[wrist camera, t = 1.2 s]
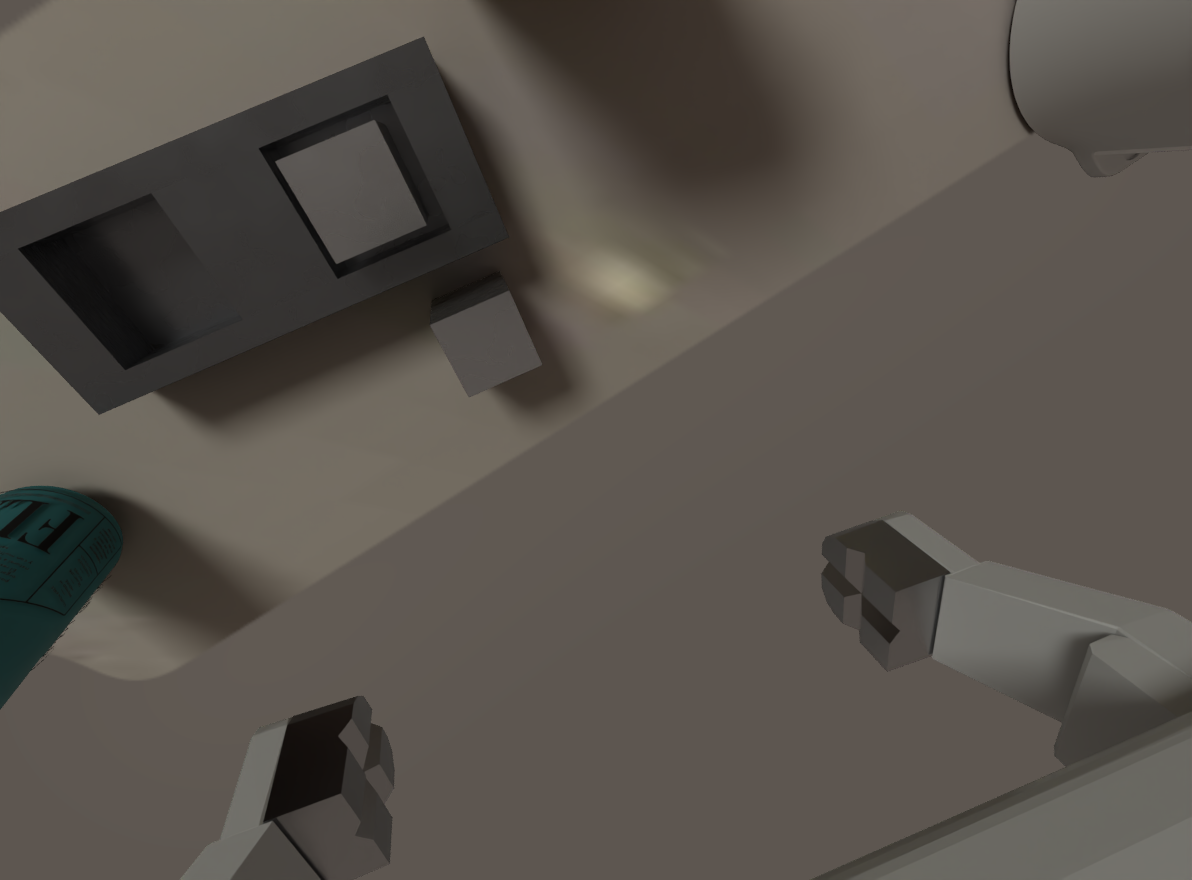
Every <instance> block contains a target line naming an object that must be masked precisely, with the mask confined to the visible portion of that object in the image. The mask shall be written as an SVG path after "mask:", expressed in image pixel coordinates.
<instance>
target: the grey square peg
mask: <svg viewBox="0 0 1192 880" xmlns="http://www.w3.org/2000/svg"><path fill="white" fill-rule="evenodd" d="M275 162H276V164H277V166H278V167H279V169H280V171H281V172H282V174H283V176H284V177H285V179H286V181H287V182H288V184H289V186H290V188H291V189H292V191H293V193H294V194H295V196H296V198H297V199H298V201H299V203H300V204H301V206H302V208H303V209H304V211H305V213H306V214H307V216H308V218H309V219H310V221H311V223H312V224H313V226H314V228H315V229H316V231H317V233H318V234H319V236H320V238H321V239H322V241H323V243H324V244H325V246H326V248H327V249H328V251H329V253H330V254H331V256H332V258H333V259H334V261H335V263H336V264H338V263H340V262H342V261H345V260H347V259H349V258H352V257H354V256H356V255H359V254H361V253H363V252H366V251H368V250H370V249H373V248H375V247H377V246H380V245H382V244H384V243H387V242H389V241H391V240H394V239H396V238H398V237H401V236H403V235H405V234H408V233H410V232H412V231H415V230H417V229H419V228H422V227H424V226H426V225H427V222H428V217H429V212H428V210H427V208H426V206H425V204H424V202H423V200H422V198H421V196H420V194H419V191H418V189H417V187H416V185H415V183H414V181H413V179H412V177H411V175H410V173H409V171H408V169H407V167H406V165H405V163H404V161H403V159H402V157H401V155H400V153H399V150H398V148H397V146H396V144H395V142H394V140H393V138H392V136H391V134H390V132H389V130H388V128H387V126H386V125H385V124H383V123H381V122H379V121H376V120H373V121H370V122H368V123H366V124H363V125H361V126H358V127H356V128H354V129H351V130H349V131H347V132H344V133H342V134H339V135H337V136H335V137H332V138H330V139H327V140H325V141H323V142H320V143H318V144H316V145H313V146H311V147H308V148H306V149H304V150H301V151H299V152H296V153H294V154H292V155H289V156H287V157H285V158H282V159H280V160H277V161H275Z"/></svg>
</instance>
